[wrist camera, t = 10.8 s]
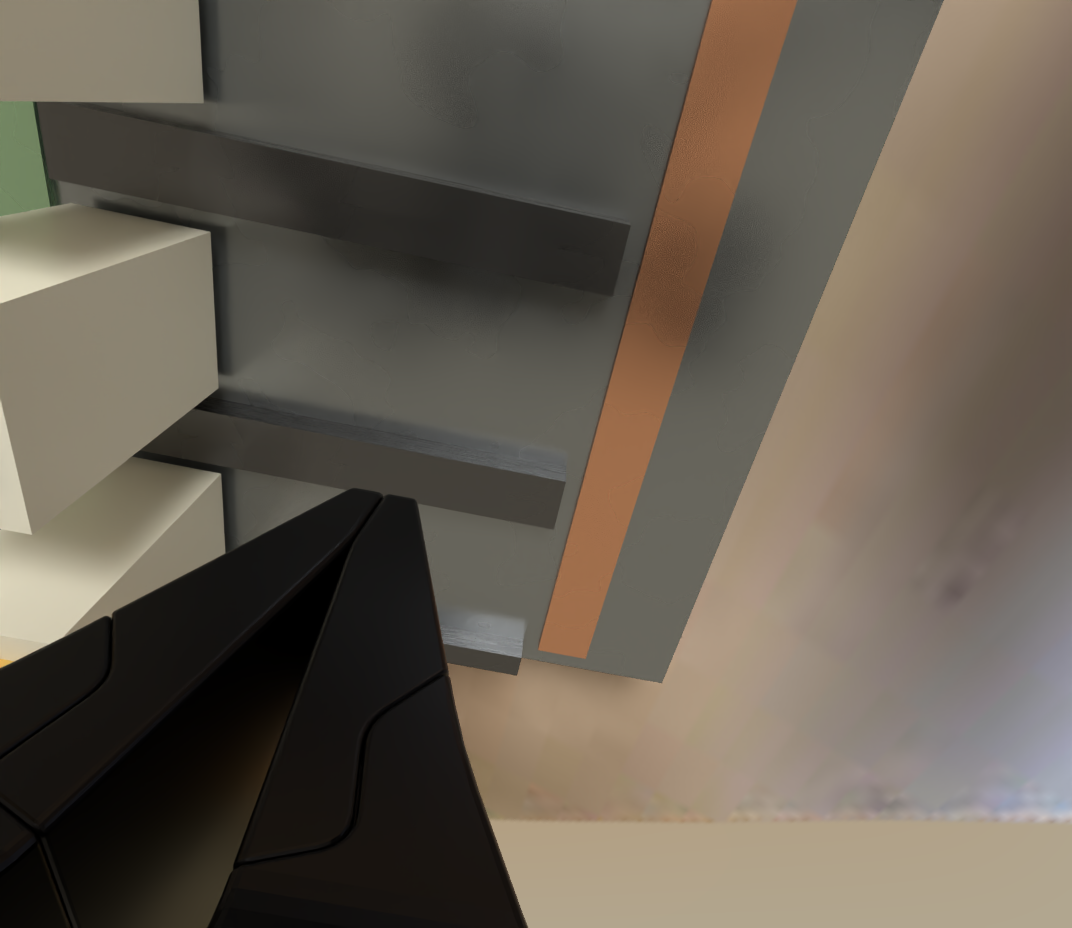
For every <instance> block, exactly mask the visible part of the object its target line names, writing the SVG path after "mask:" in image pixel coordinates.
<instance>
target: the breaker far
mask: <svg viewBox="0 0 1072 928" xmlns="http://www.w3.org/2000/svg"><path fill="white" fill-rule="evenodd" d="M223 554H225V537H224V518H223V499H222V481H221V474H220V473H215V472H210V471H205V470H199V469H194V468H189V467H184V466H178V465H173V464H168V463H163V462H158V461H152V460H147V459H142V458H137V457H130V458H129V459H128V460H127V461H125V462H124V463H123V464H122V465H120V466H119V467H118V468H116V469H115V470H114V471H113V472H111V473H110V474H109V475H108V476H106V477H105V478H104V479H102V480H101V481H100V482H99V483H97V484H96V485H95V486H94V487H92V488H91V489H90V490H88V491H87V492H86V493H85V494H83V495H82V496H81V497H80V498H78V499H77V500H76V501H74V502H73V503H72V504H71V505H69V506H68V507H67V508H66V509H64V510H63V511H62V512H60V513H59V514H58V515H57V516H55V517H54V518H53V519H52V520H50V521H49V522H48V523H46V524H45V525H44V526H43V527H41V528H40V529H39V530H38V531H36V532H35V533H34V534H32V535H30V534H25V533H19V532H14V531H8V530H3V529H1V530H0V668H1V667H3V666H5V665H8V664H10V663H12V662H14V661H16V660H18V659H20V658H22V657H24V656H26V655H28V654H30V653H32V652H34V651H36V650H38V649H40V648H42V647H44V646H46V645H48V644H50V643H52V642H54V641H56V640H58V639H60V638H62V637H64V636H66V635H68V634H70V633H72V632H74V631H76V630H78V629H80V628H82V627H84V626H86V625H88V624H90V623H91V622H93V621H95V620H97V619H99V618H101V617H103V616H109V617H111V615H112V613H113V612H114V611H115V610H117V609H119V608H121V607H123V606H125V605H127V604H129V603H131V602H132V601H134V600H136V599H138V598H140V597H142V596H144V595H146V594H148V593H150V592H152V591H154V590H156V589H158V588H159V587H161V586H163V585H165V584H167V583H169V582H171V581H173V580H175V579H177V578H179V577H181V576H183V575H184V574H186V573H188V572H190V571H192V570H194V569H196V568H198V567H200V566H202V565H204V564H206V563H208V562H210V561H211V560H213V559H215V558H217V557H219V556H221V555H223Z"/></svg>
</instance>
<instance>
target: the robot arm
mask: <svg viewBox="0 0 1072 928" xmlns="http://www.w3.org/2000/svg"><path fill="white" fill-rule="evenodd" d="M448 675H449V671H448V666H447V660H446V655H445V650H444V644H443V639H442V633H441V628H440V622H439V617H438V612H437V606H436V601H435V595H434V590H433V584H432V579H431V573H430V568H429V563H428V557H427V552H426V546H425V541H424V535H423V530H422V524H421V519H420V514H419V508H418V503H417V501H416V500H415V499H413V498H409V497H403V496H397V495H392V494H387V495H385V496H383V494H381V493H380V492H375V491H370V490H364V489H359V488H351V489H348V490H346V491H344V492H342V493H340V494H339V495H337V496H335V497H333V498H331V499H329V500H327V501H325V502H323V503H321V504H319V505H317V506H315V507H314V508H312V509H310V510H308V511H306V512H304V513H302V514H300V515H298V516H296V517H294V518H292V519H290V520H288V521H287V522H285V523H283V524H281V525H279V526H277V527H275V528H273V529H271V530H269V531H267V532H265V533H263V534H262V535H260V536H258V537H256V538H254V539H252V540H250V541H248V542H246V543H244V544H242V545H240V546H238V547H236V548H235V549H233V550H231V551H229V552H227V553H225V554H223V555H221V556H219V557H217V558H215V559H213V560H211V561H210V562H208V563H206V564H204V565H202V566H200V567H198V568H196V569H194V570H192V571H190V572H188V573H186V574H184V575H183V576H181V577H179V578H177V579H175V580H173V581H171V582H169V583H167V584H165V585H163V586H161V587H159V588H158V589H156V590H154V591H152V592H150V593H148V594H146V595H144V596H142V597H140V598H138V599H136V600H134V601H132V602H131V603H129V604H127V605H125V606H123V607H121V608H119V609H117V610H115V611H114V612H113V613H112V615H111V617H109V616H103V617H101V618H99V619H97V620H95V621H93V622H91V623H90V624H88V625H86V626H84V627H82V628H80V629H78V630H76V631H74V632H72V633H70V634H68V635H66V636H64V637H62V638H60V639H58V640H56V641H54V642H52V643H50V644H48V645H46V646H44V647H42V648H40V649H38V650H36V651H34V652H32V653H30V654H28V655H26V656H24V657H22V658H20V659H18V660H16V661H14V662H12V663H10V664H8V665H5V666H3V667H1V668H0V928H528V926H527V924H526V921H525V918H524V916H523V913H522V910H521V908H520V905H519V902H518V899H517V896H516V894H515V891H514V888H513V885H512V882H511V880H510V877H509V874H508V871H507V868H506V866H505V863H504V860H503V857H502V854H501V852H500V849H499V846H498V843H497V840H496V838H495V835H494V832H493V829H492V826H491V824H490V821H489V818H488V815H487V812H486V810H485V807H484V804H483V801H482V798H481V796H480V793H479V790H478V787H477V784H476V780H475V777H474V774H473V771H472V768H471V764H470V761H469V758H468V755H467V752H466V748H465V745H464V741H463V737H462V732H461V728H460V724H459V719H458V715H457V711H456V706H455V702H454V696H453V691H452V686H451V680H450V677H449V676H448Z"/></svg>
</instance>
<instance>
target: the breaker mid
mask: <svg viewBox="0 0 1072 928" xmlns="http://www.w3.org/2000/svg"><path fill="white" fill-rule="evenodd" d="M218 388H219V387H218V368H217V349H216V330H215V310H214V291H213V272H212V252H211V233H210V232H209V231H204V230H199V229H194V228H189V227H185V226H180V225H175V224H170V223H165V222H161V221H156V220H151V219H146V218H141V217H137V216H132V215H127V214H122V213H117V212H113V211H108V210H103V209H98V208H93V207H89V206H84V205H79V204H74V203H68V204H63V205H58V206H52V207H47V208H42V209H37V210H31V211H26V212H21V213H15V214H10V215H5V216H0V529H3V530H8V531H14V532H19V533H25V534H30V535H32V534H34V533H35V532H36V531H38V530H39V529H40V528H41V527H43V526H44V525H45V524H46V523H48V522H49V521H50V520H52V519H53V518H54V517H55V516H57V515H58V514H59V513H60V512H62V511H63V510H64V509H66V508H67V507H68V506H69V505H71V504H72V503H73V502H74V501H76V500H77V499H78V498H80V497H81V496H82V495H83V494H85V493H86V492H87V491H88V490H90V489H91V488H92V487H94V486H95V485H96V484H97V483H99V482H100V481H101V480H102V479H104V478H105V477H106V476H108V475H109V474H110V473H111V472H113V471H114V470H115V469H116V468H118V467H119V466H120V465H122V464H123V463H124V462H125V461H127V460H128V459H129V458H130V457H132V456H133V455H134V454H135V453H137V452H138V451H139V450H141V449H142V448H143V447H144V446H146V445H147V444H148V443H149V442H151V441H152V440H153V439H155V438H156V437H157V436H158V435H160V434H161V433H162V432H163V431H165V430H166V429H167V428H169V427H170V426H171V425H172V424H174V423H175V422H176V421H177V420H179V419H180V418H181V417H183V416H184V415H185V414H186V413H188V412H189V411H190V410H191V409H193V408H194V407H195V406H197V405H198V404H199V403H200V402H202V401H203V400H204V399H205V398H207V397H208V396H209V395H211V394H212V393H213V392H214V391H216V390H217V389H218Z"/></svg>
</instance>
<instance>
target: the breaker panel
mask: <svg viewBox="0 0 1072 928" xmlns="http://www.w3.org/2000/svg"><path fill="white" fill-rule="evenodd" d="M198 1H199V21H200V40H201V59H202V79H203V98H204V103H131V102H35V101H0V216H5V215H10V214H15V213H21V212H26V211H31V210H37V209H42V208H47V207H52V206H58V205H63V204H68V203H74V204H79V205H84V206H89V207H93V208H98V209H103V210H108V211H113V212H117V213H122V214H127V215H132V216H137V217H141V218H146V219H151V220H156V221H161V222H165V223H170V224H175V225H180V226H185V227H189V228H194V229H199V230H204V231H209V232H210V233H211V252H212V272H213V291H214V310H215V330H216V349H217V368H218V387H219V388H218V389H217V390H216V391H214V392H213V393H212V394H211V395H209V396H208V397H207V398H205V399H204V400H203V401H202V402H200V403H199V404H198V405H197V406H195V407H194V408H193V409H191V410H190V411H189V412H188V413H186V414H185V415H184V416H183V417H181V418H180V419H179V420H177V421H176V422H175V423H174V424H172V425H171V426H170V427H169V428H167V429H166V430H165V431H163V432H162V433H161V434H160V435H158V436H157V437H156V438H155V439H153V440H152V441H151V442H149V443H148V444H147V445H146V446H144V447H143V448H142V449H141V450H139V451H138V452H137V453H135V454H134V455H133V456H132V457H137V458H142V459H147V460H152V461H158V462H163V463H168V464H173V465H178V466H184V467H189V468H194V469H199V470H205V471H210V472H215V473H220V474H221V481H222V499H223V518H224V537H225V553H227V552H229V551H231V550H233V549H235V548H236V547H238V546H240V545H242V544H244V543H246V542H248V541H250V540H252V539H254V538H256V537H258V536H260V535H262V534H263V533H265V532H267V531H269V530H271V529H273V528H275V527H277V526H279V525H281V524H283V523H285V522H287V521H288V520H290V519H292V518H294V517H296V516H298V515H300V514H302V513H304V512H306V511H308V510H310V509H312V508H314V507H315V506H317V505H319V504H321V503H323V502H325V501H327V500H329V499H331V498H333V497H335V496H337V495H339V494H340V493H342V492H344V491H346V490H348V489H351V488H359V489H364V490H370V491H375V492H380V493H381V494H383V496H385V495H387V494H392V495H397V496H403V497H409V498H413V499H415V500H416V501H417V503H418V508H419V514H420V519H421V524H422V530H423V535H424V541H425V546H426V552H427V557H428V563H429V568H430V573H431V579H432V584H433V590H434V595H435V601H436V606H437V612H438V617H439V622H440V628H441V633H442V639H443V644H444V650H445V655H446V660H447V663H451V664H456V665H462V666H467V667H473V668H479V669H484V670H490V671H495V672H501V673H506V674H512V675H517V673H518V669H519V665H520V661H521V658H527V659H532V660H538V661H543V662H548V663H554V664H559V665H565V666H570V667H576V668H581V669H587V670H592V671H598V672H603V673H609V674H614V675H620V676H625V677H631V678H636V679H642V680H647V681H653V682H658V683H662V682H663V679H664V677H665V674H666V672H667V669H668V667H669V665H670V662H671V660H672V657H673V655H674V652H675V650H676V648H677V645H678V643H679V640H680V638H681V635H682V633H683V631H684V628H685V626H686V623H687V621H688V619H689V616H690V614H691V611H692V609H693V606H694V604H695V602H696V599H697V597H698V594H699V592H700V589H701V587H702V585H703V582H704V580H705V577H706V575H707V572H708V570H709V568H710V565H711V563H712V560H713V558H714V556H715V553H716V551H717V548H718V546H719V543H720V541H721V539H722V536H723V534H724V531H725V529H726V526H727V524H728V522H729V519H730V517H731V514H732V512H733V509H734V507H735V505H736V502H737V500H738V497H739V495H740V493H741V490H742V488H743V485H744V483H745V480H746V478H747V476H748V473H749V471H750V468H751V466H752V463H753V461H754V459H755V456H756V454H757V451H758V449H759V446H760V444H761V442H762V439H763V437H764V434H765V432H766V430H767V427H768V425H769V422H770V420H771V417H772V415H773V413H774V410H775V408H776V405H777V403H778V400H779V398H780V396H781V393H782V391H783V388H784V386H785V383H786V381H787V379H788V376H789V374H790V371H791V369H792V366H793V364H794V362H795V359H796V357H797V354H798V352H799V350H800V347H801V345H802V342H803V340H804V337H805V335H806V333H807V330H808V328H809V325H810V323H811V320H812V318H813V316H814V313H815V311H816V308H817V306H818V303H819V301H820V299H821V296H822V294H823V291H824V289H825V287H826V284H827V282H828V279H829V277H830V274H831V272H832V270H833V267H834V265H835V262H836V260H837V257H838V255H839V253H840V250H841V248H842V245H843V243H844V240H845V238H846V236H847V233H848V231H849V228H850V226H851V224H852V221H853V219H854V216H855V214H856V211H857V209H858V207H859V204H860V202H861V199H862V197H863V194H864V192H865V190H866V187H867V185H868V182H869V180H870V177H871V175H872V173H873V170H874V168H875V165H876V163H877V160H878V158H879V156H880V153H881V151H882V148H883V146H884V144H885V141H886V139H887V136H888V134H889V131H890V129H891V127H892V124H893V122H894V119H895V117H896V114H897V112H898V110H899V107H900V105H901V102H902V100H903V97H904V95H905V93H906V90H907V88H908V85H909V83H910V81H911V78H912V76H913V73H914V71H915V68H916V66H917V64H918V61H919V59H920V56H921V54H922V51H923V49H924V47H925V44H926V42H927V39H928V37H929V34H930V32H931V30H932V27H933V25H934V22H935V20H936V18H937V15H938V13H939V10H940V8H941V5H942V3H943V1H944V0H198ZM0 530H1V529H0Z"/></svg>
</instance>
